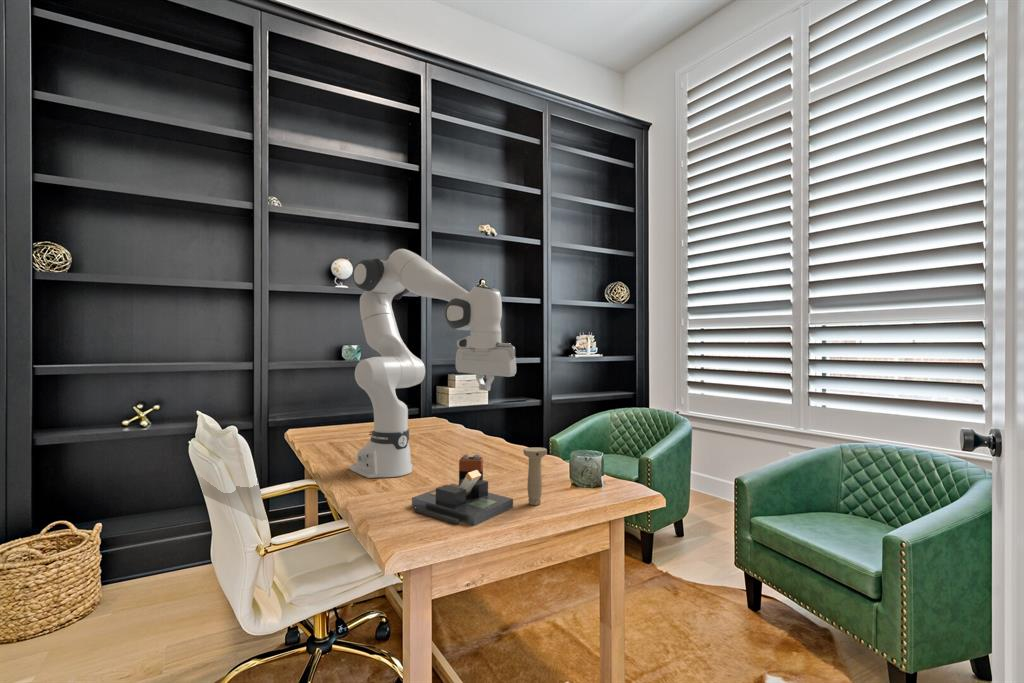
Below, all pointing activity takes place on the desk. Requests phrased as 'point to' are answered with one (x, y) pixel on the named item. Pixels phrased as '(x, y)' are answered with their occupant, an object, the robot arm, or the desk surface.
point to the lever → (470, 481)
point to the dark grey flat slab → (436, 515)
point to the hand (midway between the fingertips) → (484, 390)
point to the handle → (534, 473)
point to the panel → (464, 509)
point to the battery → (470, 465)
